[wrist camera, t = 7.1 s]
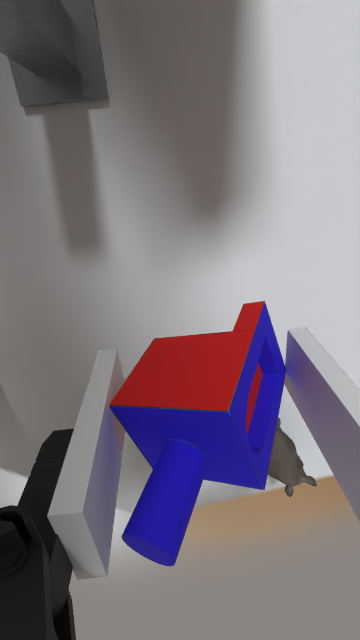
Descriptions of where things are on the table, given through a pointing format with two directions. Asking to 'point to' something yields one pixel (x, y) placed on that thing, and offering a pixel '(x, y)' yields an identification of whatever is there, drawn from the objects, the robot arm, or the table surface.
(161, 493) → the toy building block
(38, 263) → the table surface
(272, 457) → the rhino figurine
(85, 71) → the post
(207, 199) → the table surface
